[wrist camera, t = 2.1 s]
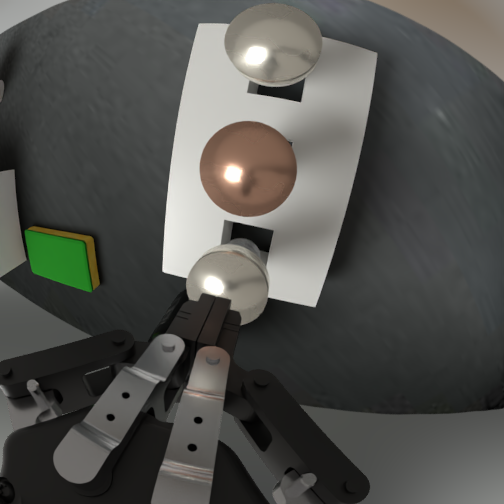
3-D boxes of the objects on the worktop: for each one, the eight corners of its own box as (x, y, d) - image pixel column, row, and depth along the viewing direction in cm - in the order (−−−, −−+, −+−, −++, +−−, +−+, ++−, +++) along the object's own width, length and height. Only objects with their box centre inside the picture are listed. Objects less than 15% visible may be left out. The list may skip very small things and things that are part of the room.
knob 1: (279, 232, 19) (276, 265, 14) (266, 289, 21) (258, 333, 16) (215, 218, 20) (189, 245, 15) (207, 276, 22) (184, 315, 17)
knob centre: (301, 136, 17) (306, 131, 12) (286, 203, 19) (285, 226, 14) (230, 123, 17) (207, 114, 12) (219, 189, 19) (193, 207, 14)
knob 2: (318, 46, 14) (327, 12, 9) (307, 105, 16) (314, 89, 11) (249, 35, 14) (234, 0, 9) (236, 93, 16) (215, 74, 11)
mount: (361, 68, 19) (377, 53, 14) (311, 280, 28) (315, 307, 23) (214, 42, 20) (199, 23, 15) (181, 251, 28) (162, 271, 24)
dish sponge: (34, 224, 31) (23, 229, 29) (95, 235, 30) (83, 242, 28) (41, 266, 34) (32, 273, 31) (101, 284, 33) (92, 293, 30)
